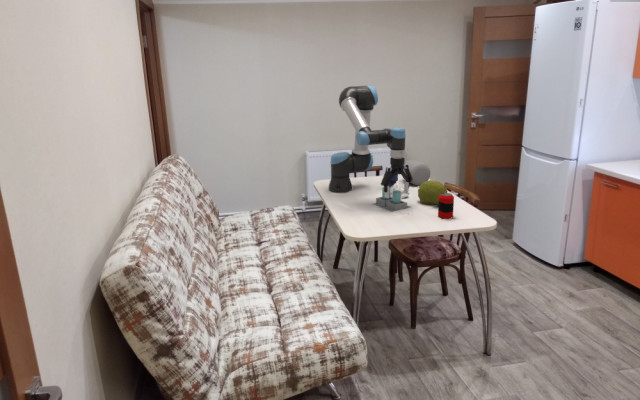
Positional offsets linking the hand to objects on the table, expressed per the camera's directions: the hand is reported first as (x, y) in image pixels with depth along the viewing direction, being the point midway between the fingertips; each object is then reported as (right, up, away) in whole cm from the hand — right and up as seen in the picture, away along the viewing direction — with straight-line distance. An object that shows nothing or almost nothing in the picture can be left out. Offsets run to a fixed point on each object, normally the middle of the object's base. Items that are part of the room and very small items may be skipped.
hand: (396, 195), depth 255 cm
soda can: (+23, -11, -12) cm, 29 cm away
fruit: (+21, -5, +9) cm, 24 cm away
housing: (-2, -6, +6) cm, 9 cm away
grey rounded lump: (+18, +9, +57) cm, 61 cm away
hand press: (+4, +5, +44) cm, 44 cm away
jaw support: (+4, -2, +21) cm, 22 cm away
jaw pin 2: (0, -6, +2) cm, 7 cm away
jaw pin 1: (-4, -4, +9) cm, 11 cm away
